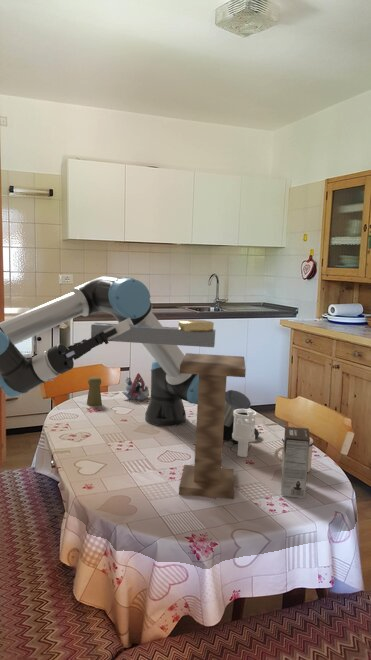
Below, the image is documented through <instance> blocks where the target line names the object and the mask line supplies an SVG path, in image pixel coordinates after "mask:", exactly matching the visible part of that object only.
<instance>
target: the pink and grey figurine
mask: <svg viewBox="0 0 371 660" xmlns="http://www.w3.org/2000/svg"><path fill="white" fill-rule="evenodd" d="M124 381H125V383H126V386H125V389H126V391H125V390H124V391H122V394H123V395H125V397H126V398H127V399H128V401H138V402H143V401H145V400H147V399H148V398H149V396H150V391H149V388H148V387H149V386H147V385H146V384H145V381H144V378H143V377H142V376H141V373H139V372H138V373H137V374H136V375H135V377H134V380H132V378H131V377H130V376H126V379H125V380H124Z"/></svg>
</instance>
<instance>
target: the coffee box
mask: <svg viewBox="0 0 371 660" xmlns="http://www.w3.org/2000/svg"><path fill="white" fill-rule="evenodd" d="M283 436H284V448H283V461H282V467H281V478H280V479H281V481H280V482H281V483H280V484H281V485H280V486H281V487H280V488H281V489H280V491H281V492H280V493H281V494H280V495H284V496H283V497H286V496H291V497H290V498H294V497H299V498H298V499H302V498H305V499H306V492H307V479H308V473H307V469H308V457H309V446H310V430H309V428H306V427H294V426H285V427H284V435H283Z"/></svg>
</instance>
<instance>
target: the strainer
mask: <svg viewBox="0 0 371 660" xmlns="http://www.w3.org/2000/svg"><path fill="white" fill-rule="evenodd" d="M237 413H247V414H248V415H240V414H237ZM233 415H234V425H233V433H232V438H233V439H234V440H236V441H238V444H237V456H238V457H241V458H246V457H248V449H249V443H250V442H251V443H252V442H254V441H255V440H256V438H255V434H254V430H255V427H256V418H257V412H256V411H255V410H253V409H250V408H249V409H236V410H234V412H233ZM233 439H232V440H233Z"/></svg>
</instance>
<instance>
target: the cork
mask: <svg viewBox="0 0 371 660" xmlns="http://www.w3.org/2000/svg"><path fill="white" fill-rule="evenodd" d="M87 384H88V386H89V387H88V393H87V401H86V405H87V406H88V407H89V406H90V407H98V406H101V405H102V392H101V385H102V379H101V377H99V376H91V377H89V378H88V380H87Z"/></svg>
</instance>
